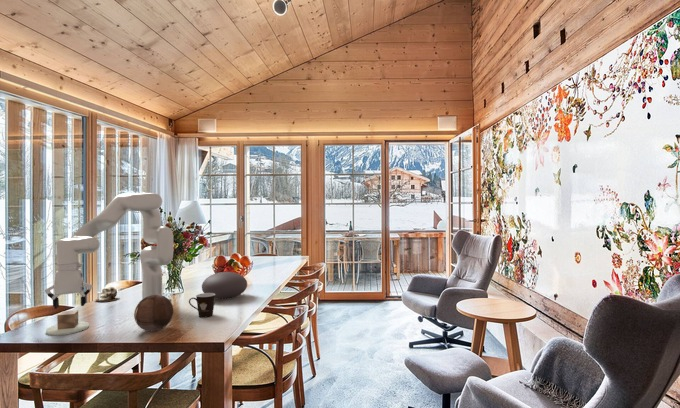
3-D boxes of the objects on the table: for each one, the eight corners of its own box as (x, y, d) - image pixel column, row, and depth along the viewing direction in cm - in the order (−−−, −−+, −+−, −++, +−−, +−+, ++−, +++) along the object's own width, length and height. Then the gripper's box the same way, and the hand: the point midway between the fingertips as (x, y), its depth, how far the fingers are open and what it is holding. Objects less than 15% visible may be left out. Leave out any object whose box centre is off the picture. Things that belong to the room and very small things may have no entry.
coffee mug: (219, 314, 187) (219, 293, 187) (206, 319, 180) (205, 297, 180) (201, 311, 192) (200, 291, 192) (187, 316, 184) (187, 295, 184)
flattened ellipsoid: (202, 295, 228) (202, 270, 228) (245, 292, 236) (245, 267, 236) (200, 305, 205) (200, 277, 205) (248, 301, 212) (248, 274, 212)
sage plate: (92, 322, 176) (92, 320, 176) (83, 332, 161) (83, 329, 161) (53, 326, 170) (53, 323, 170) (40, 337, 156) (40, 334, 156)
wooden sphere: (174, 323, 173) (174, 290, 174) (171, 333, 159) (171, 297, 159) (137, 327, 169) (137, 292, 169) (131, 338, 154) (130, 300, 155)
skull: (109, 301, 211) (98, 286, 213) (98, 313, 213) (87, 298, 215) (126, 295, 223) (115, 282, 224) (115, 306, 225) (105, 293, 226)
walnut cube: (78, 323, 170) (78, 310, 170) (74, 327, 164) (74, 313, 164) (62, 325, 168) (62, 311, 168) (57, 329, 162) (57, 315, 162)
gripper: (93, 264, 173) (95, 302, 173) (47, 267, 167) (49, 306, 167) (89, 267, 166) (91, 306, 166) (40, 270, 160) (42, 311, 160)
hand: (70, 306), depth 167 cm, fingers open, 9 cm apart
